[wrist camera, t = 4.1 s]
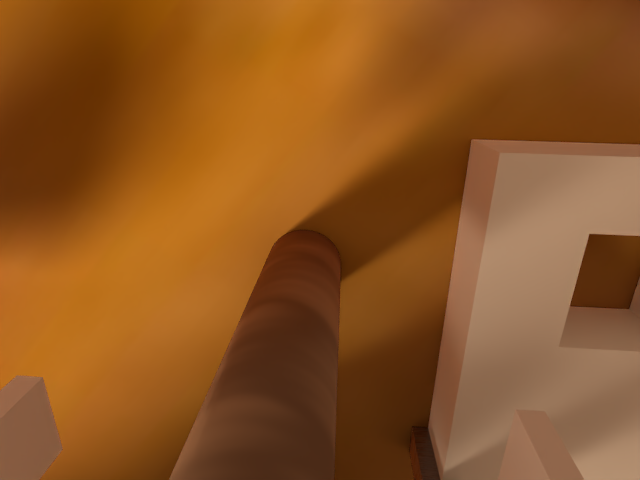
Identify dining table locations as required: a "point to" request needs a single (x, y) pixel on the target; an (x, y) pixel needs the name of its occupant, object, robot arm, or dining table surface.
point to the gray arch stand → (422, 455)
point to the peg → (276, 375)
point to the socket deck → (538, 310)
